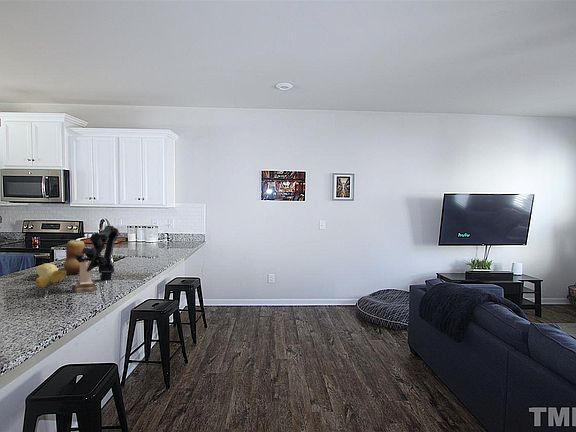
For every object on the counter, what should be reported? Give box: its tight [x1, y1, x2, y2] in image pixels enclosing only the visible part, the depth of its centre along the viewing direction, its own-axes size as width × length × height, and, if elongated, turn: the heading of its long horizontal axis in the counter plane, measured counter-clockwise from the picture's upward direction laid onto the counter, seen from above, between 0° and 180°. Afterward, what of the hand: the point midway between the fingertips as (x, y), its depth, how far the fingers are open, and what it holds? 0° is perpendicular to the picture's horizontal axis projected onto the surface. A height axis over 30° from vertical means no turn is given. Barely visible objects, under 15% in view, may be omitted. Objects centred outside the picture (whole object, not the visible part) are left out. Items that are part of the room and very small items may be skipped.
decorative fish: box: [35, 270, 68, 289], centre depth 237 cm, size 22×3×10 cm, turn 168°
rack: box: [74, 280, 97, 296], centre depth 227 cm, size 11×21×3 cm, turn 29°
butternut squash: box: [63, 239, 86, 275], centre depth 272 cm, size 14×13×25 cm
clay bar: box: [79, 261, 92, 282], centre depth 223 cm, size 4×4×12 cm
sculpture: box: [36, 262, 59, 278], centre depth 255 cm, size 12×12×11 cm
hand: (83, 271), depth 222 cm, fingers closed on clay bar, 4 cm apart
